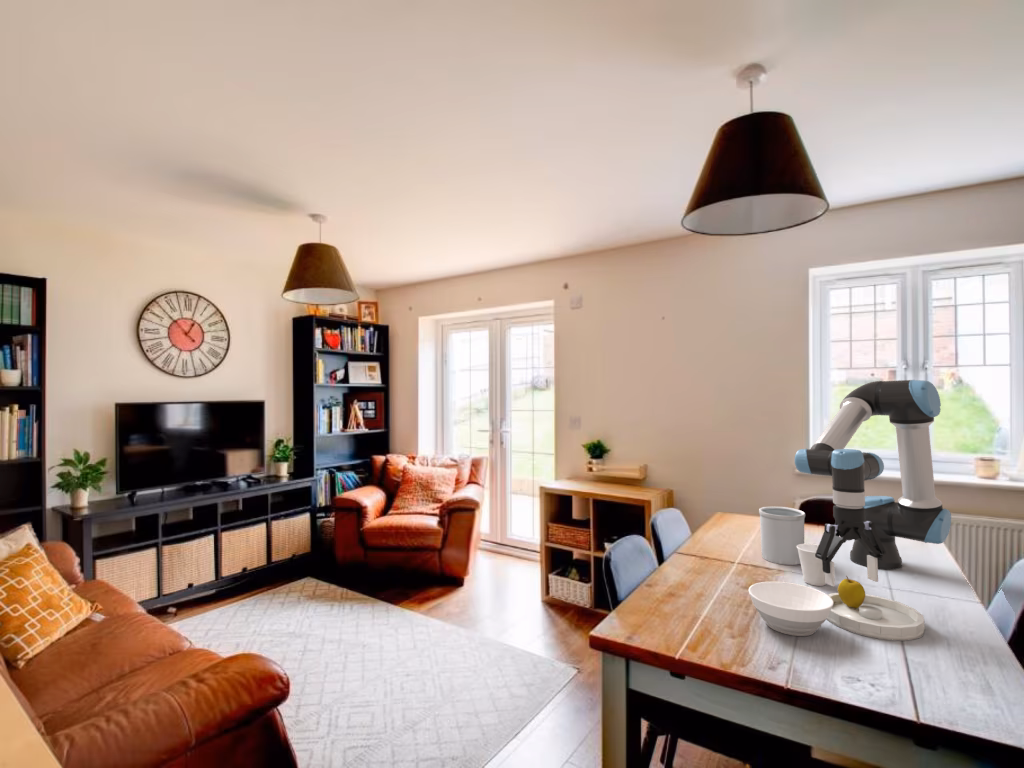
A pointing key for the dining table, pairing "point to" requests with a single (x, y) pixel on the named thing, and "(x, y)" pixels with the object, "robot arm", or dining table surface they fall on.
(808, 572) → the cup
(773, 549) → the utensil holder
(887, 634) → the ring tray
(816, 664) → the dining table surface
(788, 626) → the bowl
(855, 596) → the apple
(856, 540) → the robot arm
